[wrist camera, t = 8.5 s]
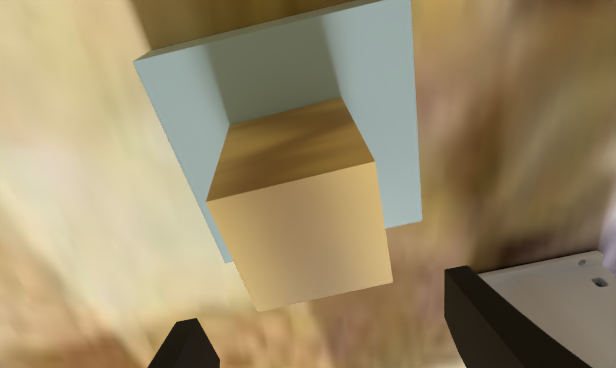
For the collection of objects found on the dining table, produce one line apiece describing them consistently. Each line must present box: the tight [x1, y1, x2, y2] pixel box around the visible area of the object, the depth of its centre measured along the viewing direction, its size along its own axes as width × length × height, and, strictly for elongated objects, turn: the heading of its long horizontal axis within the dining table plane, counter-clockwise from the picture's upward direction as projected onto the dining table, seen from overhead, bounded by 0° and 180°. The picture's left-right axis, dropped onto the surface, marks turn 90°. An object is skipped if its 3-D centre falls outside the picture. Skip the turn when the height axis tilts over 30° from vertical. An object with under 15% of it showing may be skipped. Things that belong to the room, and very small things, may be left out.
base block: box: [133, 0, 422, 263], centre depth 18 cm, size 11×11×3 cm
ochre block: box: [206, 97, 393, 312], centre depth 14 cm, size 5×5×6 cm
